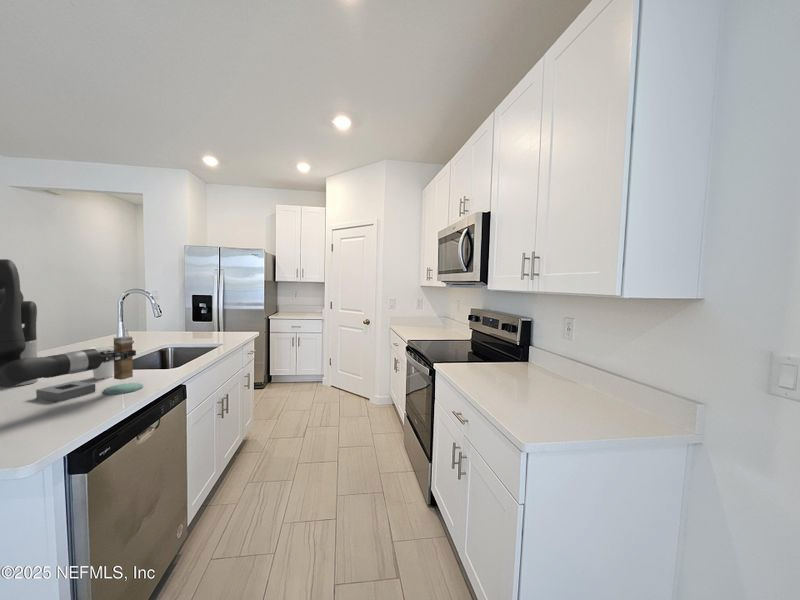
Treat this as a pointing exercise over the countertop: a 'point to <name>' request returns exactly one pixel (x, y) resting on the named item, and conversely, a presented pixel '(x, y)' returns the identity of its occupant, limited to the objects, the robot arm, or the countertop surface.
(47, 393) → the socket block
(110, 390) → the mat
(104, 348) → the foam cup
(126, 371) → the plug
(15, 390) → the countertop surface
